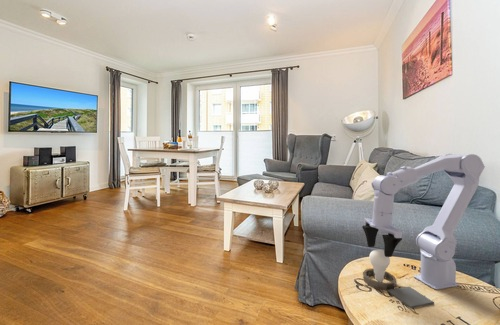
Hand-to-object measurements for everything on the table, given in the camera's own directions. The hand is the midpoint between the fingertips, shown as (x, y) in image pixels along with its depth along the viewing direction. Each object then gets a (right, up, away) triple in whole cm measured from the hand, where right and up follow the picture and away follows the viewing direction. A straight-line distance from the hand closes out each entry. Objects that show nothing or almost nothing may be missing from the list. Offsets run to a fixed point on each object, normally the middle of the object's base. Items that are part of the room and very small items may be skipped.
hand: (379, 251), depth 79 cm
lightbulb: (0, -11, +1) cm, 11 cm away
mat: (+5, -11, -8) cm, 14 cm away
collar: (0, -11, +1) cm, 11 cm away
